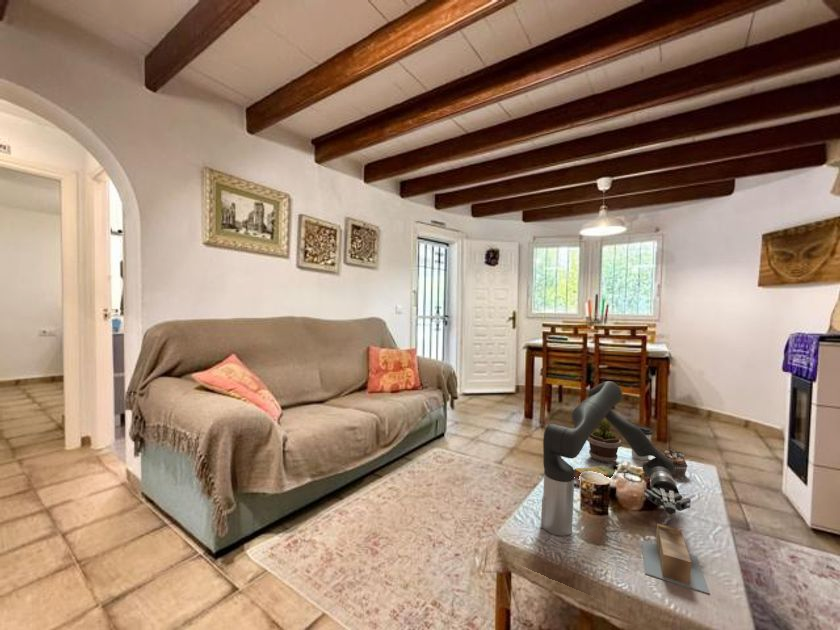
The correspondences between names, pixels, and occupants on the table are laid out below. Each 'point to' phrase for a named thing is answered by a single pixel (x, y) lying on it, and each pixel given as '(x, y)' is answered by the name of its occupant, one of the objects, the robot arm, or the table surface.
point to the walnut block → (673, 554)
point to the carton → (598, 469)
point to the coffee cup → (648, 435)
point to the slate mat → (654, 570)
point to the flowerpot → (604, 444)
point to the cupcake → (677, 462)
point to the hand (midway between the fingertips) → (670, 511)
